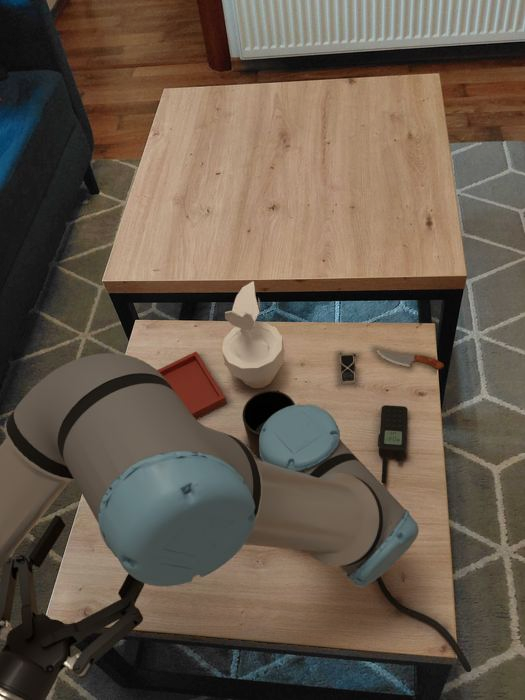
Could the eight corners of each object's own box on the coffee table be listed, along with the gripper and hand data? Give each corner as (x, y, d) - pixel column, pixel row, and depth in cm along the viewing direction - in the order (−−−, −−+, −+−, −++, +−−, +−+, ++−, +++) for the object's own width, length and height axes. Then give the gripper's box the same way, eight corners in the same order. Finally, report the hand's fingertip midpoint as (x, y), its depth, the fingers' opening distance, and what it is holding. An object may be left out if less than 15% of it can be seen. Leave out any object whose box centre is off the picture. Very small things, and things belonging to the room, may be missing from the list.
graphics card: (340, 352, 129) (355, 351, 128) (340, 354, 129) (355, 353, 129) (341, 381, 124) (357, 380, 124) (341, 384, 125) (357, 383, 124)
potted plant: (278, 405, 123) (261, 316, 104) (221, 393, 127) (195, 305, 108) (297, 354, 131) (285, 263, 112) (243, 344, 134) (222, 254, 115)
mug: (306, 409, 122) (302, 380, 115) (296, 465, 115) (292, 438, 108) (257, 405, 124) (250, 376, 117) (244, 460, 117) (237, 433, 110)
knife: (373, 359, 127) (376, 348, 129) (373, 361, 128) (376, 350, 129) (442, 371, 123) (445, 358, 124) (442, 373, 123) (445, 360, 125)
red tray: (227, 403, 125) (225, 397, 124) (167, 433, 123) (165, 427, 121) (198, 357, 133) (196, 351, 132) (142, 384, 131) (139, 378, 129)
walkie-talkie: (407, 406, 116) (405, 479, 106) (407, 417, 118) (404, 490, 109) (380, 404, 117) (375, 477, 107) (380, 415, 119) (375, 487, 110)
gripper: (-61, 665, 82) (35, 519, 95) (109, 746, 75) (188, 577, 88) (-88, 647, 77) (18, 494, 89) (93, 733, 70) (180, 554, 82)
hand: (103, 535), depth 89 cm, fingers open, 13 cm apart
